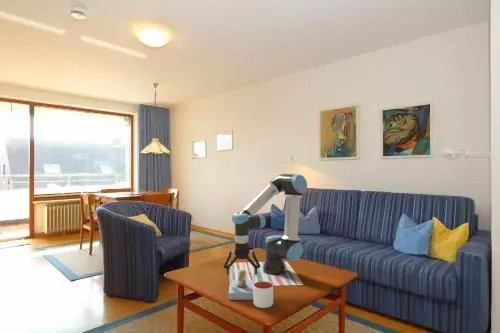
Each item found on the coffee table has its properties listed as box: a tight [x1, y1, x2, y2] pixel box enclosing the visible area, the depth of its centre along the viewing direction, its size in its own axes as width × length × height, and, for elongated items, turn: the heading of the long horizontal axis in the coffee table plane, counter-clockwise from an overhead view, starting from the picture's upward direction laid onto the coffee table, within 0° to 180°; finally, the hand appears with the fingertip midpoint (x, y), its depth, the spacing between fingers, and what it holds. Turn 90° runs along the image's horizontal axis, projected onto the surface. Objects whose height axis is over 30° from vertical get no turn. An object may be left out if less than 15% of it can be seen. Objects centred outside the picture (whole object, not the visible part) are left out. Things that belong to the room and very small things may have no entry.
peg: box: [237, 269, 247, 288], centre depth 172 cm, size 4×4×12 cm
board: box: [227, 279, 255, 301], centre depth 172 cm, size 14×18×4 cm
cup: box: [252, 280, 274, 309], centre depth 157 cm, size 10×10×10 cm
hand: (242, 280), depth 172 cm, fingers open, 13 cm apart
